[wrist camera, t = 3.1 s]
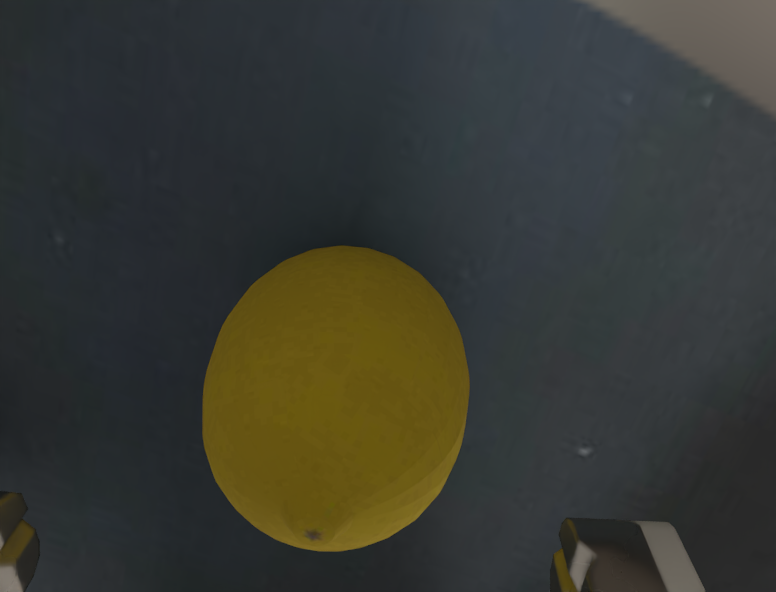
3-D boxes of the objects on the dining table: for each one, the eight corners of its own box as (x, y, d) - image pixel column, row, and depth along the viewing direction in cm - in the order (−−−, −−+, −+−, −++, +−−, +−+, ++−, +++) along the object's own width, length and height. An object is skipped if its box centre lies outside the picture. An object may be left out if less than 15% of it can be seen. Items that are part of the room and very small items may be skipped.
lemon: (219, 306, 17) (81, 548, 10) (332, 154, 15) (256, 327, 8) (375, 404, 18) (351, 675, 11) (499, 280, 16) (565, 521, 9)
